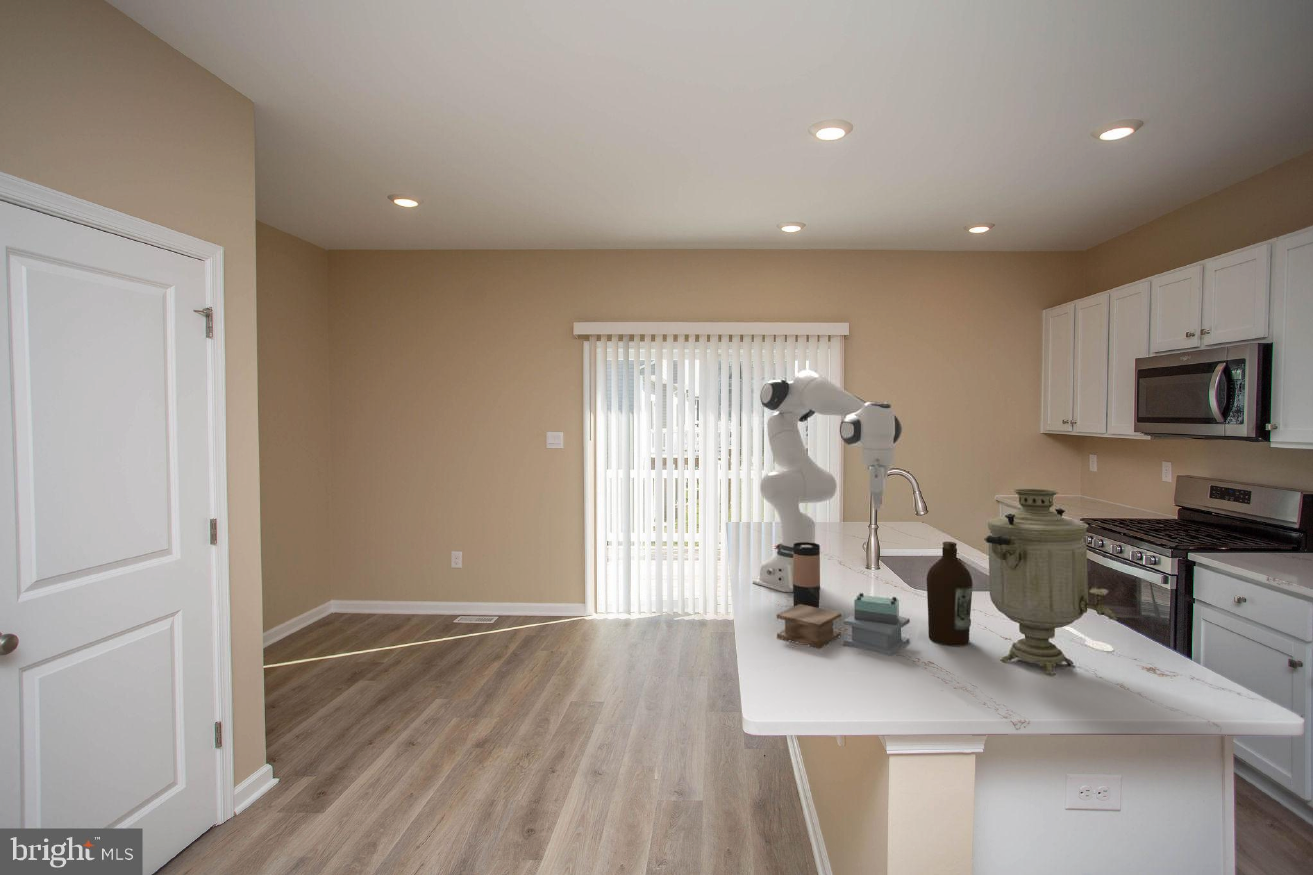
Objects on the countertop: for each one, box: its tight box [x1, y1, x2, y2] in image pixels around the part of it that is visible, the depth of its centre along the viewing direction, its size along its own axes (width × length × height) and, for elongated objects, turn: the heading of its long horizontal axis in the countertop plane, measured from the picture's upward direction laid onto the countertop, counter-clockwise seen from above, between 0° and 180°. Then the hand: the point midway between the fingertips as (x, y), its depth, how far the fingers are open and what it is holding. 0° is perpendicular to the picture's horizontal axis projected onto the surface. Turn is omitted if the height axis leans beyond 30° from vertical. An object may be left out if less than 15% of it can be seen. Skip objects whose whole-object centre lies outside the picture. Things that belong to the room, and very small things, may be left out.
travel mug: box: [792, 542, 821, 608], centre depth 183 cm, size 8×8×20 cm
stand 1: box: [776, 604, 842, 649], centre depth 164 cm, size 12×12×6 cm
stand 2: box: [843, 614, 910, 657], centre depth 159 cm, size 12×12×6 cm
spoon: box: [1061, 625, 1114, 653], centre depth 162 cm, size 5×18×1 cm, turn 177°
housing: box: [853, 592, 900, 625], centre depth 159 cm, size 10×5×6 cm, turn 63°
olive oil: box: [926, 541, 973, 647], centre depth 161 cm, size 11×11×25 cm
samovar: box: [984, 488, 1117, 677], centre depth 143 cm, size 30×26×40 cm
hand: (877, 506), depth 181 cm, fingers open, 8 cm apart
